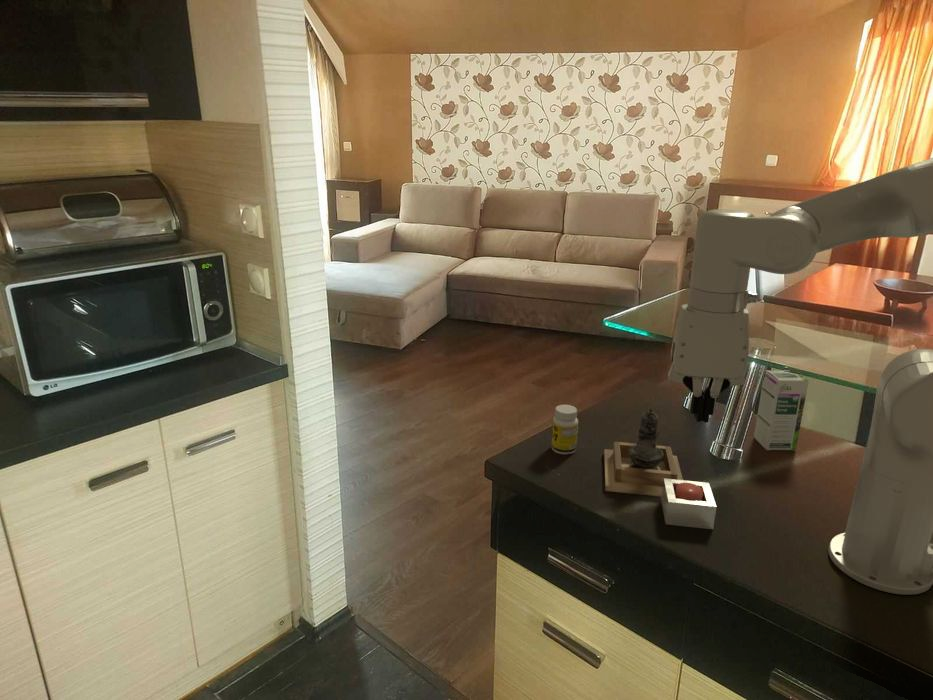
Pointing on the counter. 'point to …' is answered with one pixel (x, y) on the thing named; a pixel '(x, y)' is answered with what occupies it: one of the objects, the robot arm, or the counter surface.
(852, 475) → the counter surface
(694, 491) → the button
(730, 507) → the counter surface
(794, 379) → the syrup box
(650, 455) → the dark stone statuette
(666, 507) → the button box
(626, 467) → the open wooden tray
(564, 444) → the supplement bottle
